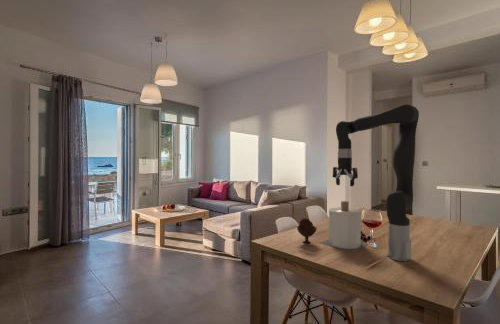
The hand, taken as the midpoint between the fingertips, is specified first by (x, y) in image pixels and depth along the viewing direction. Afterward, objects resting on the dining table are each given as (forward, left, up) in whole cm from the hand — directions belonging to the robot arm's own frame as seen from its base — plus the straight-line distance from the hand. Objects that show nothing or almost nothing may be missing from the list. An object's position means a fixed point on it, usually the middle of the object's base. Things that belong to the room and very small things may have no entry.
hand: (344, 185), depth 155 cm
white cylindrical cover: (0, 0, -33) cm, 33 cm away
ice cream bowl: (+15, +15, -34) cm, 40 cm away
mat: (0, 0, -34) cm, 34 cm away
